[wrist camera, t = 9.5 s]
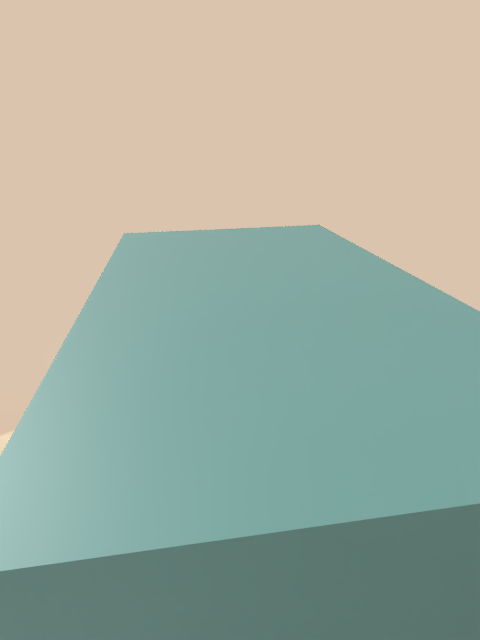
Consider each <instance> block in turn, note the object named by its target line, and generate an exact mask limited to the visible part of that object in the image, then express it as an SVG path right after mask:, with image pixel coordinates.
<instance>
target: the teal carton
mask: <svg viewBox="0 0 480 640" xmlns="http://www.w3.org/2000/svg"><path fill="white" fill-rule="evenodd" d="M0 640H480V312H479V311H477V310H476V309H474V308H472V307H470V306H468V305H467V304H465V303H463V302H461V301H459V300H457V299H455V298H453V297H452V296H450V295H448V294H446V293H444V292H442V291H441V290H439V289H437V288H435V287H433V286H431V285H429V284H428V283H426V282H424V281H422V280H420V279H418V278H416V277H415V276H412V275H411V274H409V273H407V272H405V271H403V270H402V269H400V268H398V267H396V266H394V265H392V264H390V263H389V262H387V261H385V260H383V259H381V258H379V257H377V256H376V255H374V254H372V253H370V252H368V251H366V250H365V249H363V248H361V247H359V246H357V245H355V244H353V243H351V242H350V241H348V240H346V239H344V238H342V237H340V236H338V235H337V234H335V233H333V232H331V231H329V230H327V229H325V228H324V227H322V226H320V225H309V226H287V227H286V226H285V227H263V228H240V229H218V230H195V231H173V232H172V231H171V232H149V233H126V234H124V235H123V236H122V238H121V240H120V242H119V244H118V245H117V247H116V249H115V251H114V253H113V255H112V256H111V258H110V260H109V262H108V263H107V265H106V267H105V269H104V271H103V272H102V274H101V276H100V278H99V280H98V282H97V283H96V285H95V287H94V289H93V291H92V292H91V294H90V296H89V298H88V300H87V301H86V303H85V305H84V307H83V309H82V310H81V312H80V314H79V316H78V317H77V319H76V321H75V323H74V325H73V327H72V329H71V330H70V332H69V334H68V336H67V337H66V339H65V341H64V343H63V345H62V347H61V348H60V350H59V352H58V354H57V355H56V357H55V359H54V361H53V363H52V364H51V366H50V368H49V370H48V372H47V373H46V375H45V377H44V379H43V381H42V382H41V384H40V386H39V388H38V390H37V391H36V393H35V395H34V397H33V399H32V400H31V402H30V404H29V406H28V408H27V409H26V411H25V413H24V415H23V417H22V418H21V420H20V422H19V424H18V426H17V427H16V429H15V431H14V433H13V435H12V436H11V438H10V440H9V442H8V444H7V445H6V447H5V449H4V451H3V453H2V454H1V456H0Z"/></svg>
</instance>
